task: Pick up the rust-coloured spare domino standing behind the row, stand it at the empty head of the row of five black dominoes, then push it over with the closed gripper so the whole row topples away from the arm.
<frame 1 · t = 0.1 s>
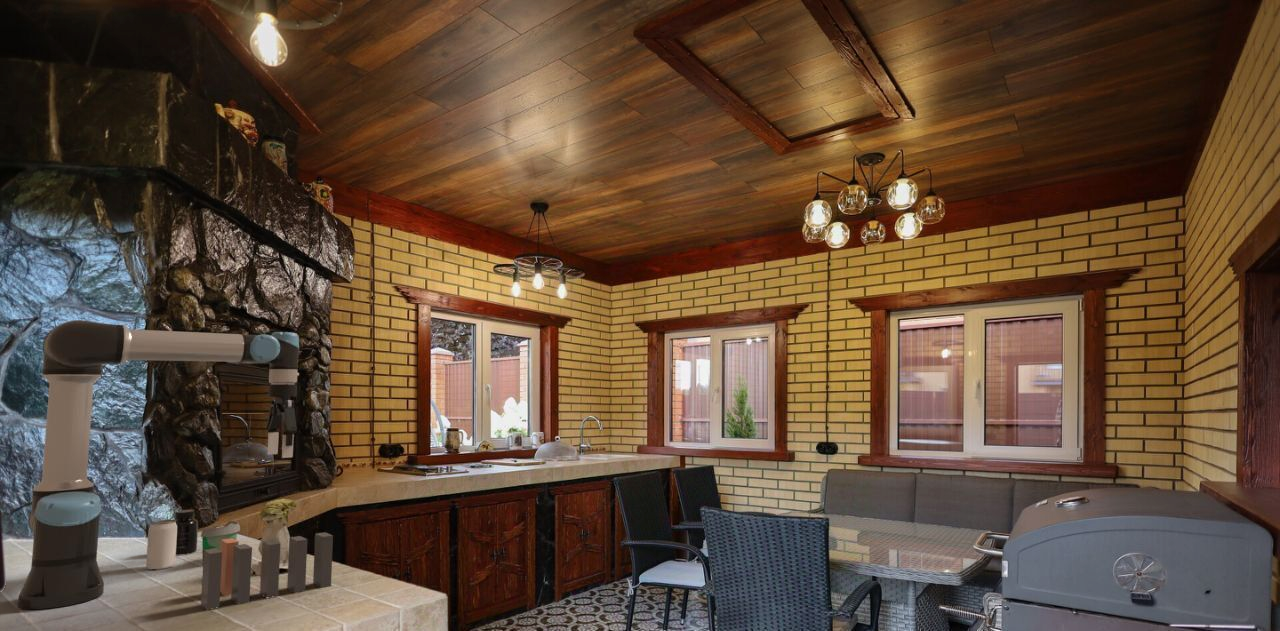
hand: (279, 455, 206), 28 cm above the worktop, tool pointing down, fingers open, 13 cm apart
domino 2: (209, 606, 154), on the worktop
domino 4: (268, 595, 162), on the worktop
can: (160, 567, 187), on the worktop
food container: (224, 562, 193), on the worktop
domino 5: (296, 589, 166), on the worktop
domino 1: (226, 592, 164), on the worktop
domino 6: (321, 584, 170), on the worktop
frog: (277, 569, 185), on the worktop
domino 3: (240, 600, 158), on the worktop
supplement bottle: (182, 553, 204), on the worktop
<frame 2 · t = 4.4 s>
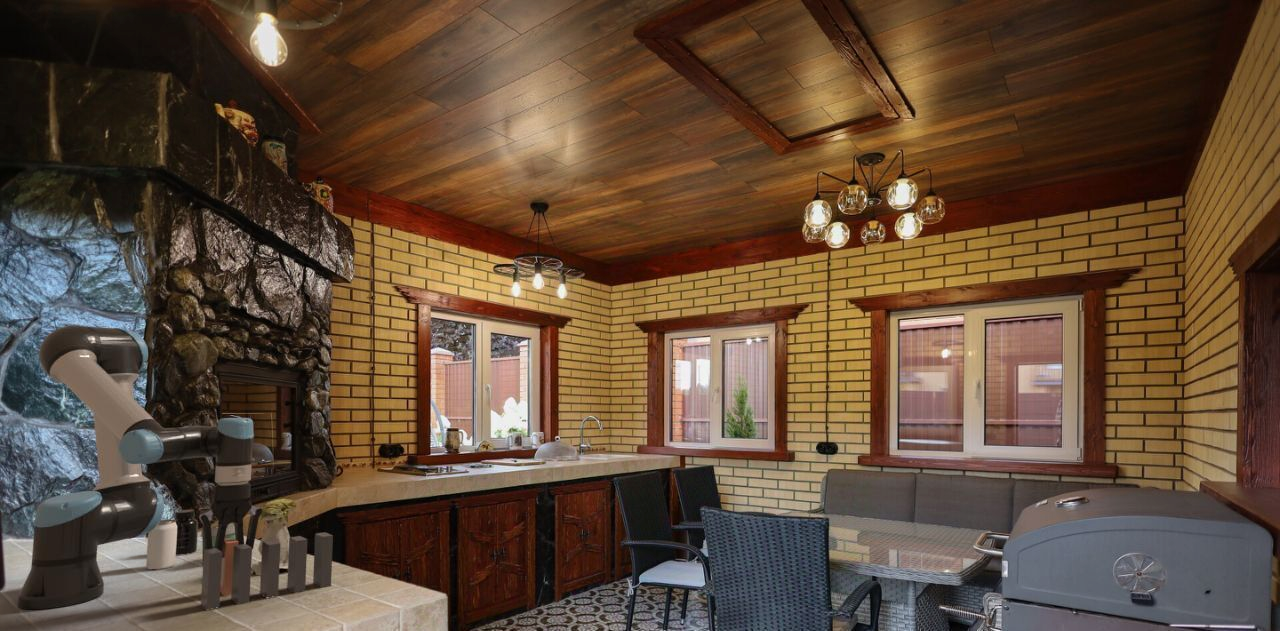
hand: (227, 583, 164), 2 cm above the worktop, tool pointing down, fingers closed on domino 1, 2 cm apart
domino 1: (226, 592, 164), on the worktop, touching gripper
everything else where it was.
when the fingers open (3 cm above the worktop, at t = 9.3 s): domino 1 stays where it is, on the worktop.
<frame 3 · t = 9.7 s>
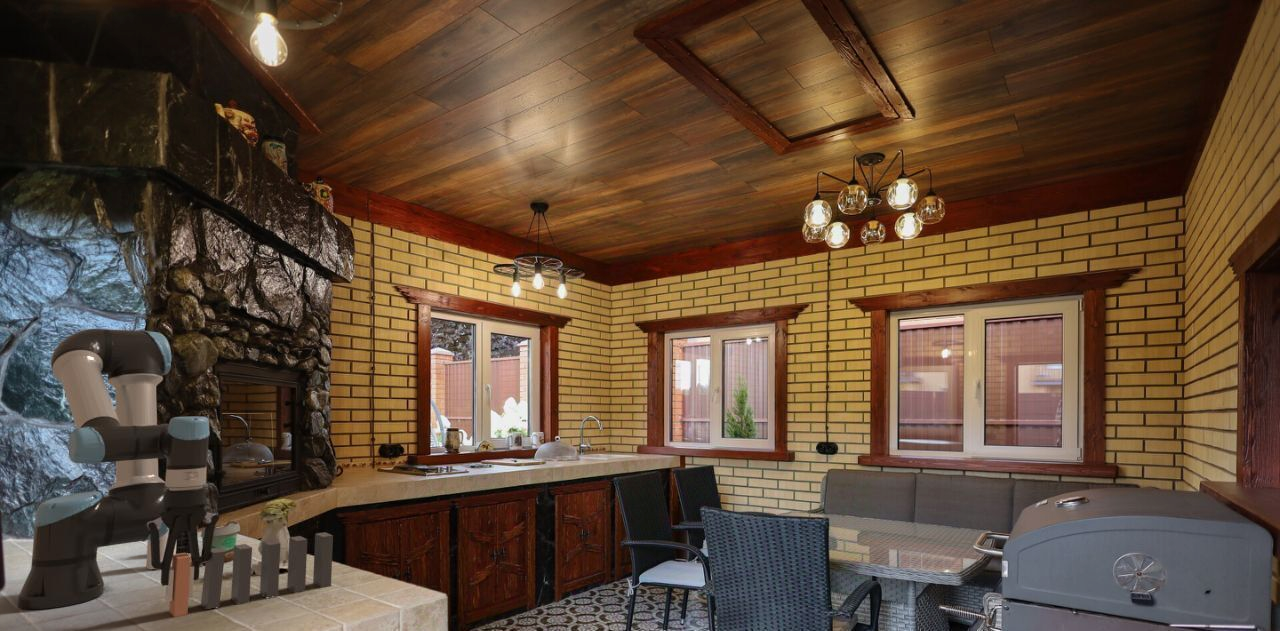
hand: (178, 598, 150), 3 cm above the worktop, tool pointing down, fingers open, 3 cm apart
domino 2: (209, 606, 154), on the worktop, touching hand
domino 1: (178, 612, 150), on the worktop
everything else where it was.
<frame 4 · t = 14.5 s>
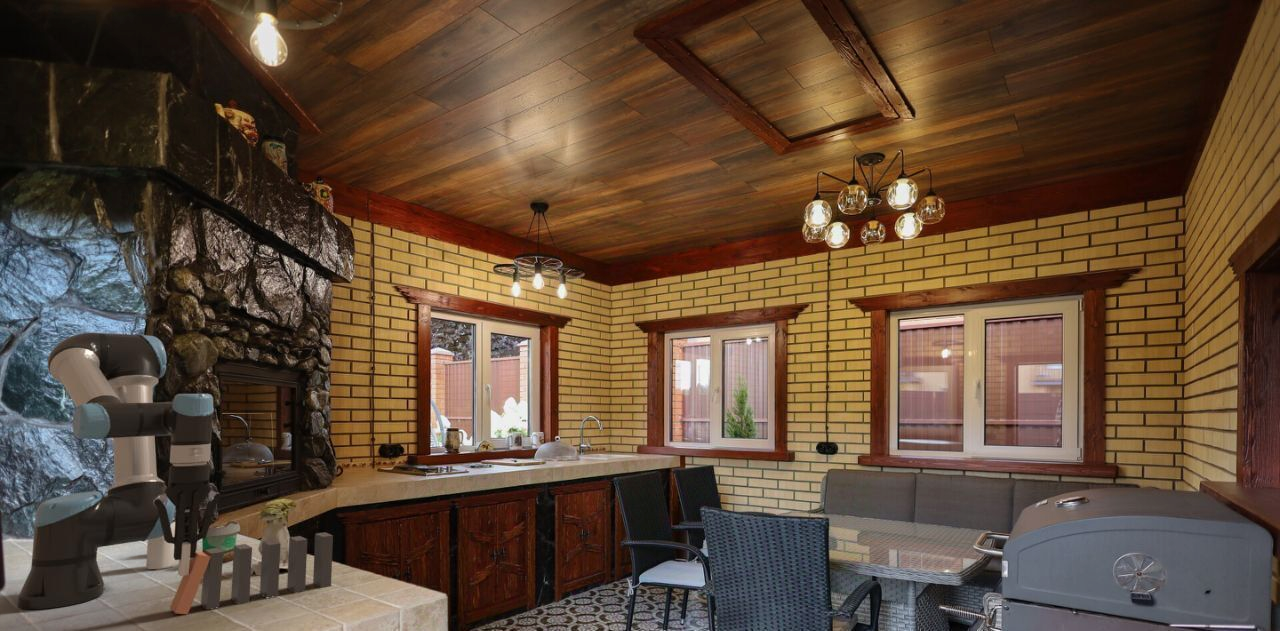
hand: (183, 574, 151), 8 cm above the worktop, tool pointing down, fingers closed
domino 2: (209, 606, 154), on the worktop, touching domino 1
domino 1: (178, 611, 150), on the worktop, tilted 18°, touching domino 2, gripper
everything else where it was.
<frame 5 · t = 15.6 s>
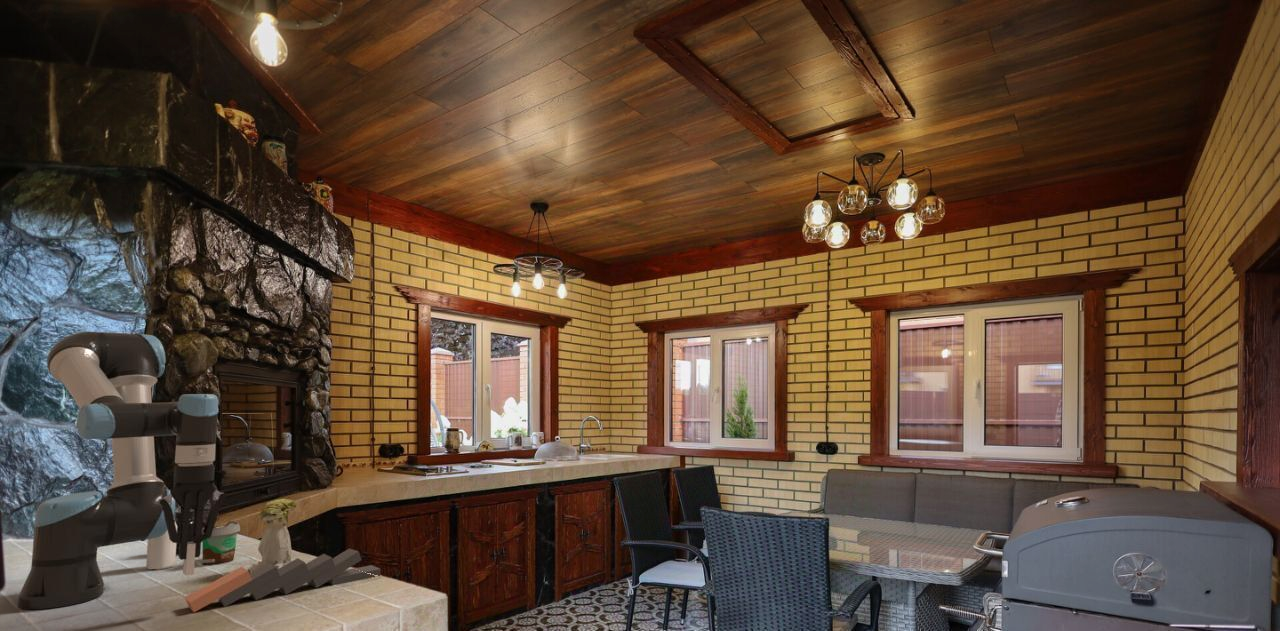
hand: (188, 573, 151), 8 cm above the worktop, tool pointing down, fingers closed
domino 2: (219, 599, 155), point 1 cm above the worktop, tilted 67°, touching domino 3
domino 4: (280, 588, 164), point 1 cm above the worktop, tilted 68°, touching domino 3
domino 5: (310, 581, 169), point 1 cm above the worktop, tilted 68°
domino 1: (189, 604, 151), point 1 cm above the worktop, tilted 67°
domino 6: (328, 581, 172), point 1 cm above the worktop, tilted 90°
domino 3: (251, 593, 159), point 1 cm above the worktop, tilted 67°, touching domino 2, domino 4
everything else where it was.
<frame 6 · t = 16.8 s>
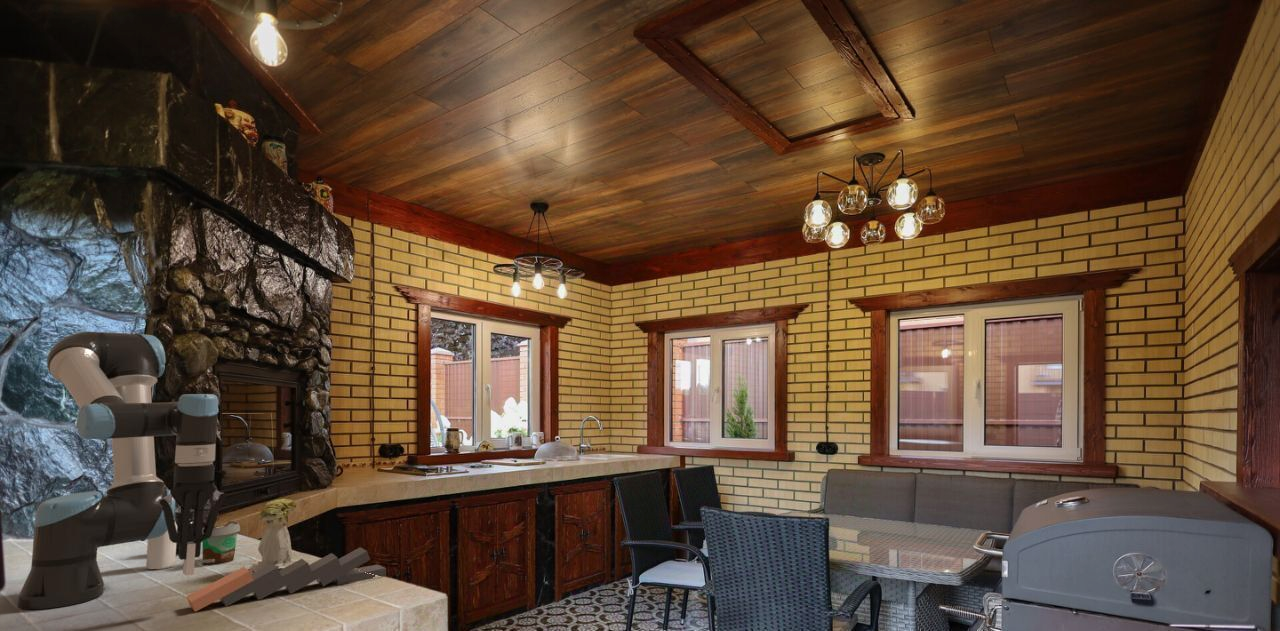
hand: (188, 573, 151), 8 cm above the worktop, tool pointing down, fingers closed
domino 2: (221, 599, 155), point 1 cm above the worktop, tilted 68°, touching domino 1, domino 3
domino 4: (286, 586, 165), point 1 cm above the worktop, tilted 68°, touching domino 3, domino 5
domino 5: (318, 579, 169), point 2 cm above the worktop, tilted 67°, touching domino 4, domino 6
domino 1: (190, 604, 151), point 1 cm above the worktop, tilted 68°, touching domino 2
domino 6: (334, 580, 172), point 1 cm above the worktop, tilted 90°, touching domino 5
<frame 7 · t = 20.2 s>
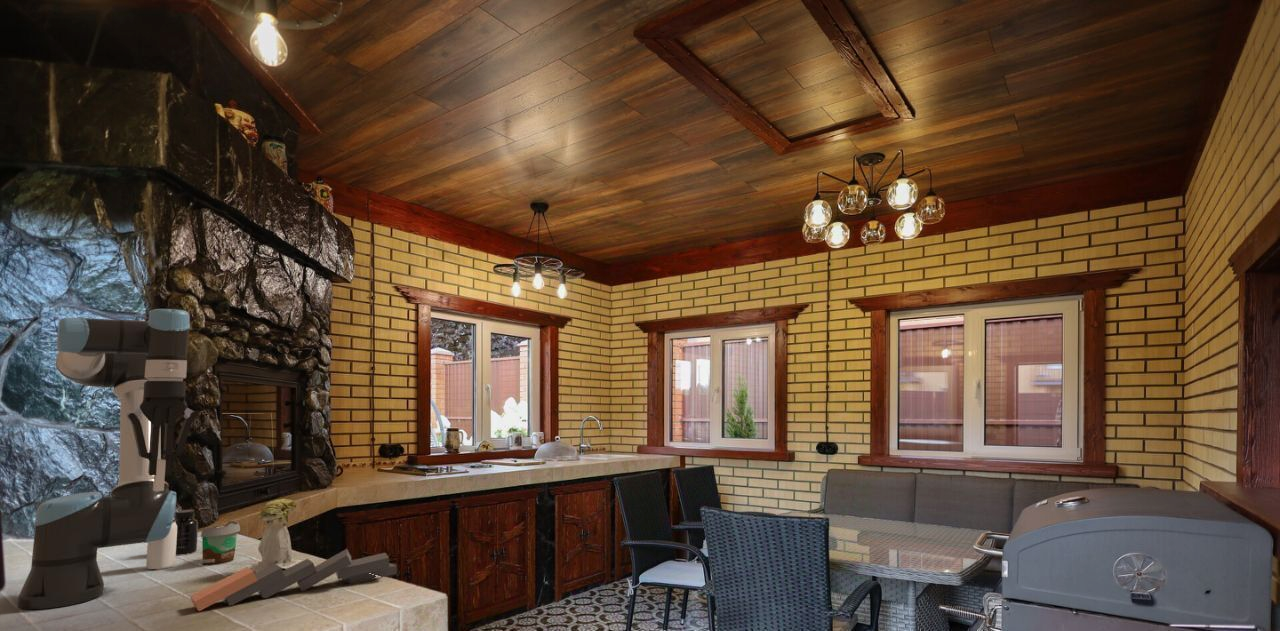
hand: (158, 490, 149), 26 cm above the worktop, tool pointing down, fingers closed
domino 4: (300, 583, 167), point 1 cm above the worktop, tilted 63°, touching domino 3, domino 5
domino 5: (336, 571, 171), point 3 cm above the worktop, tilted 83°, touching domino 4, domino 6
domino 6: (346, 577, 173), point 1 cm above the worktop, tilted 90°, touching domino 5
domino 3: (259, 592, 161), point 1 cm above the worktop, tilted 69°, touching domino 2, domino 4
everything else where it was.
at the end: domino 6 tilted 90°; domino 1 inside the target area (1.0 cm from its centre), point 1.4 cm above the worktop; domino 1 tilted 69° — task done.
